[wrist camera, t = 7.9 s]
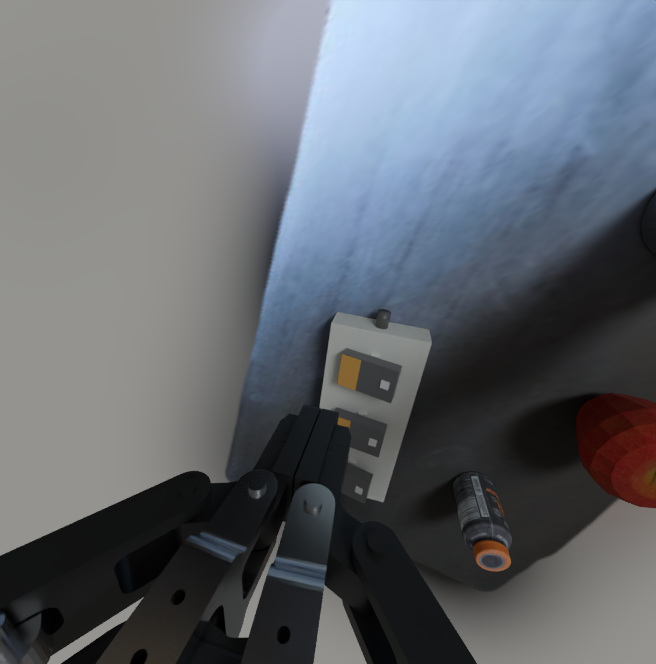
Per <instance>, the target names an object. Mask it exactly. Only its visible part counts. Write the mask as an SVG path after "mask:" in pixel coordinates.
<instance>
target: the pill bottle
mask: <svg viewBox="0 0 656 664" xmlns="http://www.w3.org/2000/svg"><path fill="white" fill-rule="evenodd" d="M453 490H454V495H455V501H456V506H457V510H458V515H459V520H460V525H461V530H462V535H463V539H464V541H465V543H466V545H467V546H468V547H469V548H470V549H471V550H473V552H474V555H475V560H476V562H477V564H478V565H479V566H480V567H482V568H483V569H486V570H489V571H502V570H505V569H507V568H508V567H509V566H510V564H511V559H510V556H509V552H508V550H509V548H510V547H511V544H512V537H511V533H510V530H509V528H508V525H507V522H506V519H505V516H504V513H503V510H502V507H501V504H500V501H499V498H498V495H497V492H496V489H495V487H494V484H493V482H492V480H491V479H490V478H489V477H487V476H485V475H484V474H481V473H477V472H467V473H463V474H461V475H459V476H458V477H457V478H456V479H455V480H454V482H453Z"/></svg>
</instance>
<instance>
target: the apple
mask: <svg viewBox="0 0 656 664" xmlns="http://www.w3.org/2000/svg"><path fill="white" fill-rule="evenodd" d="M576 435H577V444H578V453H579V456H580V458H581V461H582V463H583V466H584V468H585V469H586V470H587V471H588V473H589V474H590V475H591V477H592V478H593V479H594V480H595V482H596V483H597V484H598V485H599V486H601V487H602V488H603V489H604V490H605V491H606V492H607V493H608V494H611V495H613V496H615V497H617V498H619V499H621V500H624V501H626V502H628V503H631V504H634V505H637V506H639V507H648V508H656V403H654V402H651V401H648V400H645V399H641V398H636V397H632V396H628V395H623V394H614V393H609V394H604V395H599V396H596V397H594V398H592V399H590V400H588V401H587V402H586V403H585V404H584V405H583V406H582V407H581V408H580V409H579V411H578V414H577V416H576Z"/></svg>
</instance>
